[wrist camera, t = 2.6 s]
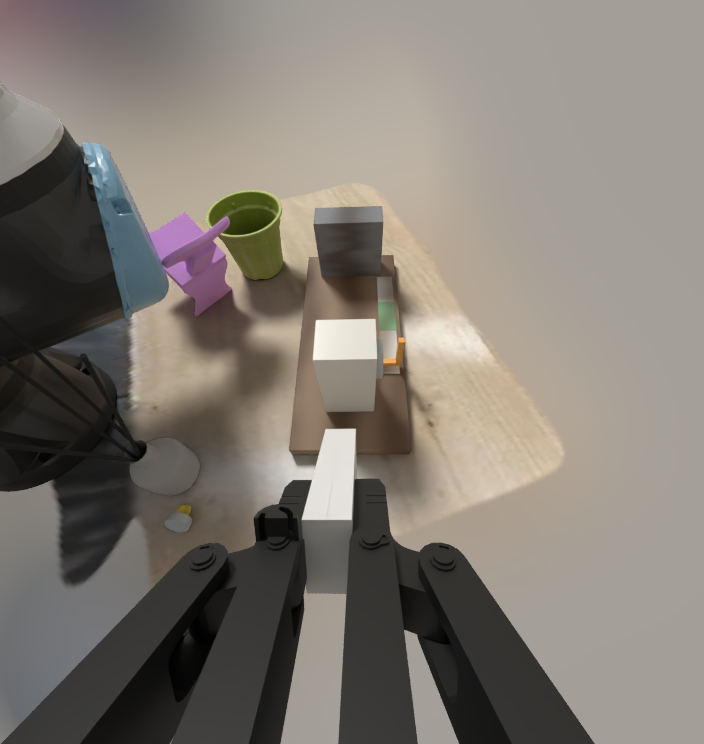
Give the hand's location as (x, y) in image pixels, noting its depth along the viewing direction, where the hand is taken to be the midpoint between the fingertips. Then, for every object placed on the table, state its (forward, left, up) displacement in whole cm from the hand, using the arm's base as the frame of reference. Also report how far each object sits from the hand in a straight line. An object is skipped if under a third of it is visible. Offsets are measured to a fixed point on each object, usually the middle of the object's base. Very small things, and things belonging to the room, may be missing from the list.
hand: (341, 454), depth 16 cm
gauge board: (0, +19, -17) cm, 25 cm away
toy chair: (-22, +28, -14) cm, 39 cm away
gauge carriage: (0, +11, -15) cm, 19 cm away
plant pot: (-13, +33, -17) cm, 39 cm away
